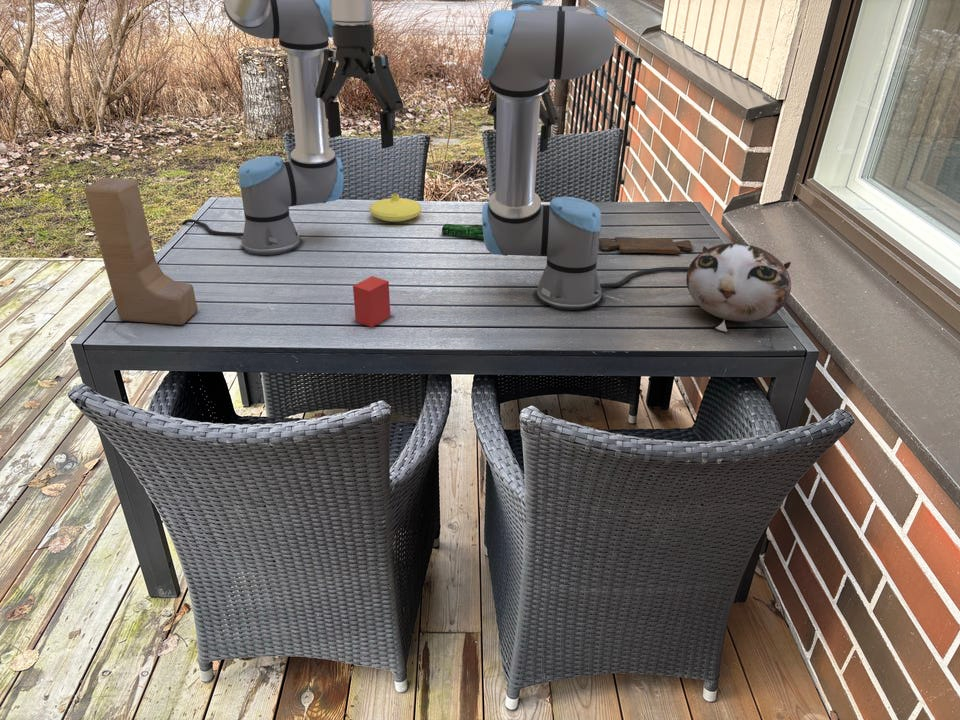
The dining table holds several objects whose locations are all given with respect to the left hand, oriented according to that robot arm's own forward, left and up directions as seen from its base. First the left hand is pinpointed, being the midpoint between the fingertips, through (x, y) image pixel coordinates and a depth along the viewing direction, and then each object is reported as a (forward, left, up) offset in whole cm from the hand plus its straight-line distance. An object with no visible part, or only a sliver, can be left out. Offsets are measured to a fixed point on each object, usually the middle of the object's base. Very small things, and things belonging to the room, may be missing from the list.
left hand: (360, 141), depth 140 cm
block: (0, 0, -39) cm, 39 cm away
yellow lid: (-38, +54, -39) cm, 77 cm away
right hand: (+2, +61, -13) cm, 62 cm away
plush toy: (+66, +46, -39) cm, 90 cm away
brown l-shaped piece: (-40, -27, -39) cm, 62 cm away
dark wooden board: (+34, +75, -39) cm, 92 cm away
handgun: (-11, +58, -39) cm, 71 cm away
